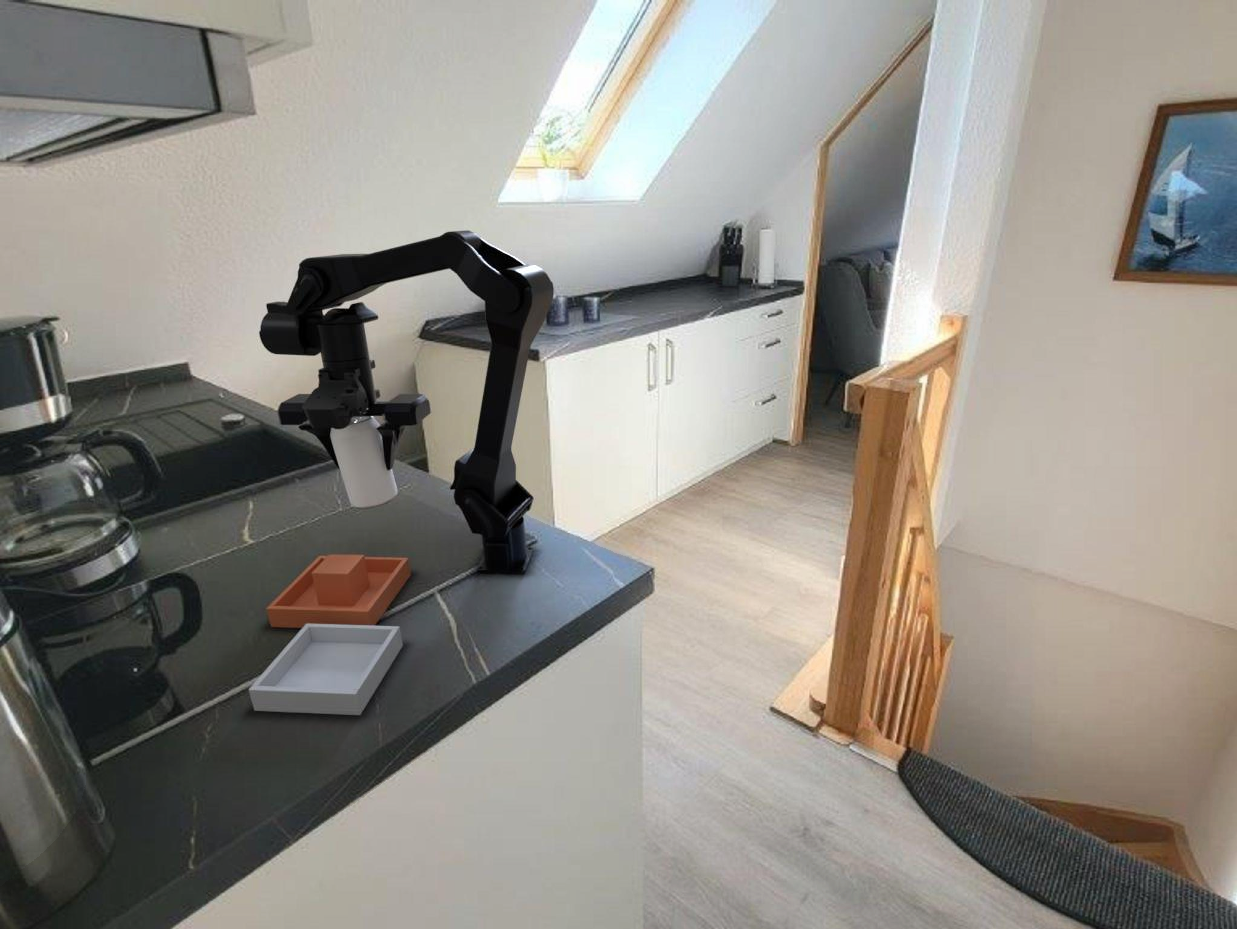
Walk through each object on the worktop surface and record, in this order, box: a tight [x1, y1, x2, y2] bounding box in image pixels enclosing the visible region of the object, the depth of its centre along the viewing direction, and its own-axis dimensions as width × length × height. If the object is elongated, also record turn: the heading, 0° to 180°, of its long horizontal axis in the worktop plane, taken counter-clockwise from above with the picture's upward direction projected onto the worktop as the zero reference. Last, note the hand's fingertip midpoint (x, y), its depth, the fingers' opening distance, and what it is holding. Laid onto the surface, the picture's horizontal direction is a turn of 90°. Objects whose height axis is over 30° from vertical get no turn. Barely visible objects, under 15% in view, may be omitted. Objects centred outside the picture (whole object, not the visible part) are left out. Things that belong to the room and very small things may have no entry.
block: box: [312, 553, 370, 606], centre depth 80 cm, size 4×4×4 cm
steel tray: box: [248, 624, 404, 716], centre depth 67 cm, size 11×11×3 cm
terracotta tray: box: [266, 555, 412, 629], centre depth 81 cm, size 12×12×3 cm
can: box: [330, 416, 398, 510], centre depth 89 cm, size 6×6×12 cm
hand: (365, 468), depth 90 cm, fingers closed on can, 6 cm apart
